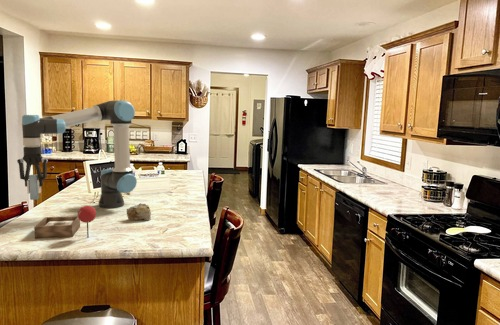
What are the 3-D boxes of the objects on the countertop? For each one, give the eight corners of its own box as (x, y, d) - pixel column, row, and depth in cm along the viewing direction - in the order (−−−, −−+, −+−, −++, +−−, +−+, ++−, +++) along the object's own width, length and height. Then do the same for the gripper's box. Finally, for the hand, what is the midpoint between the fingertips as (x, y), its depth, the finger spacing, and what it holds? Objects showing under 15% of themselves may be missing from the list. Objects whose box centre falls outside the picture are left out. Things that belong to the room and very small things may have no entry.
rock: (154, 215, 213) (147, 199, 210) (152, 220, 207) (145, 203, 204) (133, 221, 213) (127, 205, 210) (130, 226, 207) (124, 210, 204)
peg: (40, 197, 193) (39, 174, 192) (37, 199, 189) (36, 175, 188) (31, 198, 192) (30, 174, 191) (28, 199, 188) (27, 175, 187)
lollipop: (82, 235, 180) (81, 204, 178) (98, 234, 180) (98, 204, 179) (76, 240, 172) (75, 208, 170) (93, 240, 173) (92, 208, 171)
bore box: (80, 226, 192) (79, 216, 192) (72, 236, 177) (72, 225, 176) (45, 228, 189) (45, 217, 188) (34, 238, 173) (34, 226, 173)
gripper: (53, 145, 193) (55, 191, 196) (15, 145, 189) (18, 191, 192) (48, 147, 186) (50, 194, 189) (9, 146, 182) (12, 194, 185)
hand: (34, 192), depth 190 cm, fingers closed on peg, 4 cm apart
